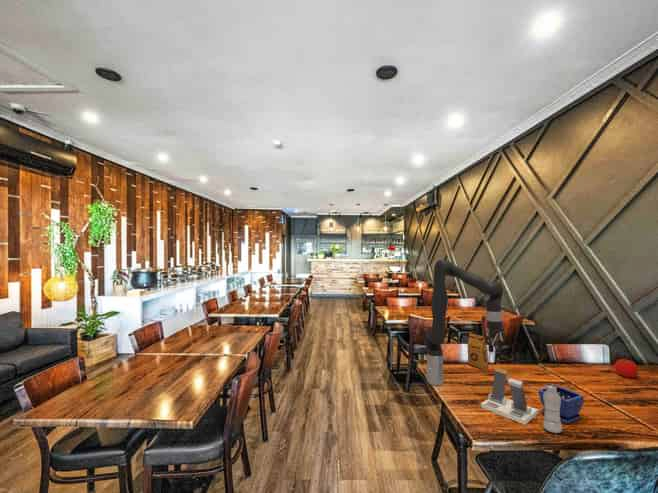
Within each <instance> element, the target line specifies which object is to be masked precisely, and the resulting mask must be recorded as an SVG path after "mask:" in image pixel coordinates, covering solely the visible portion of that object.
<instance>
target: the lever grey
mask: <svg viewBox="0 0 658 493" xmlns="http://www.w3.org/2000/svg"><path fill="white" fill-rule="evenodd" d="M507 382H508V386H509V388H510V389H509V390H510V393H511V398H512V401H513V403H514V407H515V408H516V409H518V410H521V411H524V412H527V406H528V404H527V400H526V396H525V391H524V387H523V386H524V382H523V381H521V380H517V379H515V378H512V377H511V378H508V381H507Z"/></svg>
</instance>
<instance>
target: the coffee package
mask: <svg viewBox="0 0 658 493" xmlns="http://www.w3.org/2000/svg"><path fill="white" fill-rule="evenodd" d="M466 346H467V364H468V365H470V366H472V367H475V368H477V369H481V370H486V369H488V368H489V356H488V347H487V344H486V343H485V335H483V336H482V335H478V334H476V333H469V335H468V341H467V345H466Z"/></svg>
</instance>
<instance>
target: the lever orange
mask: <svg viewBox="0 0 658 493" xmlns="http://www.w3.org/2000/svg"><path fill="white" fill-rule="evenodd" d="M508 373H509V372H508V370H507V369H503V368H501V367H496V366H495V367H494V377H493V384H492V391H491V393H492V397H491V399H492V400H494V401H497V402H500V403H502V399H504V398H505V391H506V382H507V377H508V376H507V375H508Z"/></svg>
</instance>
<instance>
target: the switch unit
mask: <svg viewBox="0 0 658 493" xmlns="http://www.w3.org/2000/svg"><path fill="white" fill-rule="evenodd" d="M491 397H492V392H491V393H488V397H487V399H485V400H484V401H482V402H481V403H480V408H482V409H484V410H486V411H489V412H492V413H495V414H497V415H499V416H502V417H505V418H507V419H510V420H511V419H512V421H514V420H515V421H514V422H516V421H517V422H516V423H519V424H521V423H522V425H523V426H526V425H527V424H528V423H529V422H530V421H531V420H533V419H534V418H535V417H536V416H537V415H539V409H537V408H534V407H531V406H529V405H527V412H524V411H521V410H518V409H516V408H515V407H514V403H513V399H510V398H507V397H504V399H502V403H500V402H497V401H494V400H492V399H491Z"/></svg>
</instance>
